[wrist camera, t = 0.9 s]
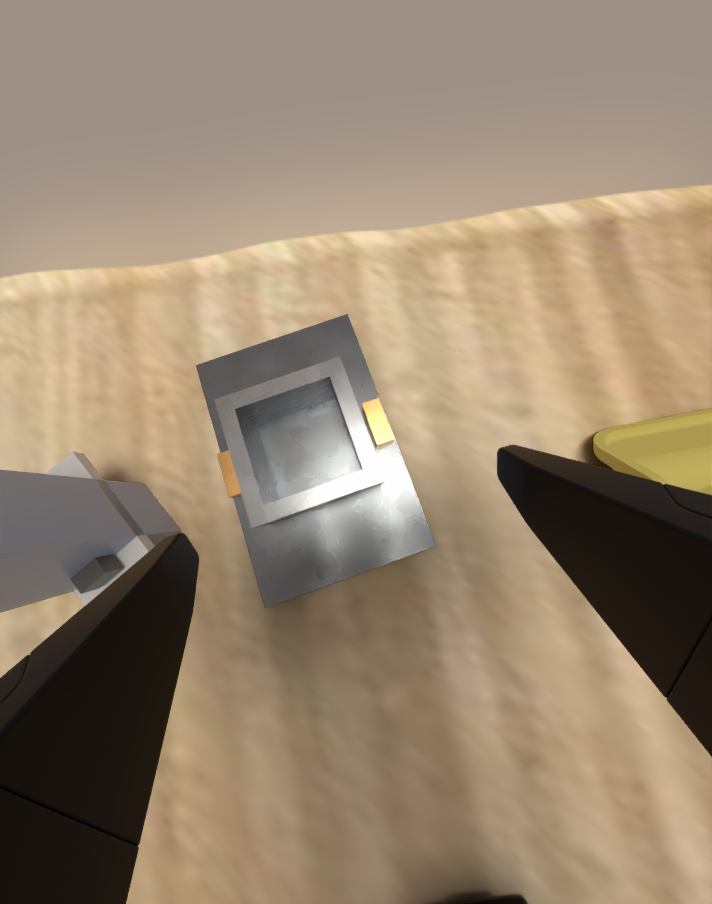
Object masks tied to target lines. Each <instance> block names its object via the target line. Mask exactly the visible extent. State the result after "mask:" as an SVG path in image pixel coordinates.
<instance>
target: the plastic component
mask: <svg viewBox="0 0 712 904" xmlns="http://www.w3.org/2000/svg"><path fill="white" fill-rule="evenodd" d="M593 449H594V453H595V455H596V456H597V458H598V459H599V460H601V461H602V462H603V463H605V464H607V465H608V466H610V467H611V468H612V469H613V470H615V471H618V472H622V473H626V474H630V475H634V476H638V477H642V478H646V479H650V480H654V481H658V482H661V483H662V484H670V485H673V486H677V487H681V488H685V489H689V490H693V491H697V492H701V493H705V494H710V495H712V409H707V410H701V411H696V412H691V413H685V414H680V415H675V416H670V417H664V418H659V419H654V420H649V421H643V422H638V423H633V424H627V425H622V426H617V427H612V428H607V429H604V430H602V431H599V432H598V433H597V434H596V435H595V436H594V438H593Z"/></svg>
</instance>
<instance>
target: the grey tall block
mask: <svg viewBox="0 0 712 904" xmlns="http://www.w3.org/2000/svg"><path fill="white" fill-rule="evenodd" d="M179 531H180V528H179V527H178V526H177V525H176V523H175V522H174V521H173V520H172V518H171V517H170V516H169V515H168V513H167V512H166V511H165V509H164V508H163V507H162V506H161V504H160V503H159V502H158V501H157V499H156V498H155V497H154V496H153V494H152V493H151V492H150V490H149V489H148V488H147V487H146V485H145V484H141V483H131V482H121V481H110V480H104V479H103V478H102V477H101V475H100V474H99V473H98V472H97V470H96V469H95V468H94V466H93V465H92V464H91V462H90V461H89V460H88V458H87V457H86V456H85V455H84V454H83V453H77V452H71V453H70V454H69V455H68V456H66V457H65V458H64V459H63V460H62V461H60V462H59V463H58V464H57V465H55V466H54V467H53V468H52V469H50V470H49V471H48V472H47V473H46V474H39V473H28V472H18V471H8V470H0V613H1V612H4V611H8V610H11V609H14V608H18V607H21V606H25V605H28V604H31V603H35V602H38V601H42V600H45V599H48V598H52V597H55V596H59V595H62V594H65V593H69V592H72V591H73V592H74V593H75V594H76V596H77V597H78V599H79V600H80V602H81V603H82V604H83V606H86V605H87V604H88V603H89V602H90V601H91V600H93V599H94V598H95V597H96V596H97V595H98V594H100V593H101V592H102V591H103V590H104V589H105V588H107V587H108V586H109V585H110V584H111V583H113V582H114V581H115V580H116V579H117V578H118V577H120V576H121V575H122V574H123V573H124V572H125V571H127V570H128V569H129V568H130V567H131V566H132V565H134V564H135V563H136V562H137V561H138V560H139V559H141V558H142V557H143V556H144V555H145V554H147V553H148V552H149V551H150V550H151V549H152V548H154V547H155V546H156V545H157V544H158V543H159V542H161V541H162V540H163V539H164V538H165V537H167V536H170V535H174V534H177V533H178V532H179Z"/></svg>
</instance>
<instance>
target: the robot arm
mask: <svg viewBox="0 0 712 904" xmlns="http://www.w3.org/2000/svg"><path fill="white" fill-rule="evenodd" d="M497 475H498V478H499V480H500V482H501V484H502V485H503V487H504V488H505V490H506V492H507V493H508V495H509V496H510V498H511V500H512V501H513V503H514V504H515V506H516V508H517V509H518V511H519V512H520V514H521V516H522V517H523V519H524V520H525V522H526V523H527V525H528V526H529V527H530V528H531V530H532V531H533V532H534V534H535V535H536V536H537V537H538V539H539V540H540V541H541V542H542V544H543V545H544V546H545V547H546V549H547V550H548V551H549V552H550V554H551V555H552V556H553V557H554V559H555V560H556V561H557V562H558V564H559V565H560V566H561V568H562V569H563V570H564V571H565V573H566V574H567V575H568V576H569V578H570V579H571V580H572V581H573V583H574V584H575V585H576V586H577V588H578V589H579V590H580V591H581V593H582V594H583V595H584V596H585V598H586V599H587V600H588V601H589V603H590V604H591V605H592V606H593V608H594V609H595V610H596V611H597V613H598V614H599V615H600V617H601V618H602V619H603V620H604V622H605V623H606V624H607V625H608V627H609V628H610V629H611V630H612V632H613V633H614V634H615V635H616V637H617V638H618V639H619V640H620V642H621V643H622V644H623V645H624V647H625V648H626V649H627V650H628V652H629V653H630V654H631V655H632V657H633V658H634V659H635V660H636V662H637V663H638V664H639V666H640V667H641V668H642V669H643V671H644V672H645V673H646V674H647V676H648V677H649V678H650V679H651V681H652V682H653V683H654V684H655V686H656V687H657V688H658V689H659V691H660V692H661V693H662V694H663V696H664V697H666V698H667V701H668V702H669V704H670V705H671V706H672V707H673V709H674V710H675V711H676V712H677V714H678V715H679V716H680V717H681V719H682V720H683V721H684V722H685V724H686V725H687V726H688V728H689V729H690V730H691V731H692V733H693V734H694V735H695V736H696V738H697V739H698V740H699V741H700V743H701V744H702V745H703V746H704V748H705V749H706V750H707V751H708V753H709V754H710V755H711V756H712V495H710V494H705V493H701V492H697V491H693V490H689V489H685V488H681V487H677V486H673V485H670V484H662V483H661V482H658V481H654V480H650V479H646V478H642V477H638V476H634V475H630V474H626V473H622V472H618V471H615V470H611V469H607V468H603V467H599V466H595V465H591V464H587V463H583V462H579V461H576V460H572V459H568V458H564V457H560V456H556V455H552V454H548V453H544V452H540V451H537V450H533V449H529V448H525V447H521V446H517V445H509V446H505V447H502V448H499V450H498V452H497ZM198 566H199V556H198V553H197V551H196V550H195V548H194V547H193V545H192V544H191V542H190V541H189V539H188V538H187V536H186V535H185V534H184V533H177V534H174V535H170V536H167V537H165V538H164V539H163V540H162V541H161V542H159V543H158V544H157V545H156V546H155V547H154V548H152V549H151V550H150V551H149V552H148V553H147V554H145V555H144V556H143V557H142V558H141V559H139V560H138V561H137V562H136V563H135V564H134V565H132V566H131V567H130V568H129V569H128V570H127V571H125V572H124V573H123V574H122V575H121V576H120V577H118V578H117V579H116V580H115V581H114V582H113V583H111V584H110V585H109V586H108V587H107V588H105V589H104V590H103V591H102V592H101V593H100V594H98V595H97V596H96V597H95V598H94V599H93V600H91V601H90V602H89V603H88V604H87V605H86V606H84V607H83V608H82V609H81V610H80V611H79V612H77V613H76V614H75V615H74V616H73V617H71V618H70V619H69V620H68V621H67V622H66V623H64V624H63V625H62V626H61V627H60V628H59V629H57V630H56V631H55V632H54V633H53V634H52V635H50V636H49V637H48V638H47V639H46V640H45V641H43V642H42V643H41V644H40V645H39V646H37V647H36V648H35V649H34V650H33V651H32V652H31V653H30V655H27V656H26V657H24V658H23V659H22V660H21V661H20V662H19V663H17V664H16V665H15V666H14V667H13V668H12V669H10V670H9V671H8V672H7V673H6V674H4V675H3V676H2V677H1V678H0V904H126V901H127V897H128V892H129V888H130V884H131V880H132V875H133V871H134V867H135V862H136V858H137V854H138V849H139V847H138V845H139V843H140V839H141V835H142V831H143V826H144V822H145V818H146V813H147V809H148V805H149V800H150V796H151V792H152V787H153V783H154V779H155V775H156V770H157V766H158V762H159V757H160V753H161V749H162V744H163V740H164V736H165V731H166V727H167V723H168V718H169V714H170V710H171V705H172V701H173V697H174V692H175V688H176V684H177V679H178V675H179V671H180V666H181V662H182V658H183V653H184V649H185V645H186V640H187V636H188V632H189V627H190V623H191V618H192V613H193V607H194V599H195V591H196V583H197V574H198ZM466 904H528V903H527V902H526V901H525V900H524V899H522V898H513V899H504V900H494V901H485V902H475V903H466Z"/></svg>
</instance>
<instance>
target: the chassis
mask: <svg viewBox="0 0 712 904" xmlns="http://www.w3.org/2000/svg"><path fill="white" fill-rule="evenodd" d="M196 367H197V371H198V374H199V378H200V382H201V385H202V389H203V392H204V396H205V399H206V403H207V406H208V410H209V413H210V417H211V420H212V424H213V427H214V431H215V434H216V438H217V441H218V445H219V448H220V452H221V453H219V454H217V456H218V460H219V463H220V467H221V470H222V474H223V478H224V481H225V485H226V488H227V492H228V495H229V497H232V498H234V501H235V505H236V508H237V512H238V515H239V519H240V522H241V526H242V529H243V533H244V536H245V540H246V543H247V547H248V550H249V554H250V558H251V561H252V565H253V568H254V572H255V575H256V579H257V582H258V586H259V589H260V593H261V596H262V600H263V603H264V607H265V608H267V607H270V606H273V605H276V604H278V603H281V602H284V601H287V600H289V599H292V598H295V597H298V596H300V595H303V594H306V593H308V592H311V591H314V590H317V589H319V588H322V587H325V586H328V585H330V584H333V583H336V582H339V581H341V580H344V579H347V578H350V577H352V576H355V575H358V574H360V573H363V572H366V571H369V570H371V569H374V568H377V567H380V566H382V565H385V564H388V563H391V562H393V561H396V560H399V559H402V558H404V557H407V556H410V555H412V554H415V553H418V552H421V551H423V550H426V549H429V548H432V547H434V546H436V544H435V541H434V539H433V536H432V533H431V531H430V528H429V526H428V523H427V520H426V518H425V515H424V513H423V510H422V507H421V505H420V502H419V500H418V497H417V494H416V492H415V489H414V486H413V484H412V481H411V479H410V476H409V473H408V471H407V468H406V466H405V463H404V460H403V458H402V455H401V453H400V450H399V447H398V445H397V442H396V440H395V437H394V434H393V432H392V429H391V426H390V424H389V421H388V419H387V416H386V413H385V411H384V408H383V406H382V403H381V400H380V398H379V395H378V393H377V390H376V387H375V385H374V382H373V379H372V377H371V374H370V372H369V369H368V366H367V364H366V361H365V359H364V356H363V353H362V351H361V348H360V346H359V343H358V340H357V338H356V335H355V332H354V330H353V327H352V325H351V322H350V319H349V317H348V314H346V315H343V316H340V317H337V318H334V319H331V320H328V321H326V322H323V323H320V324H317V325H314V326H311V327H308V328H305V329H302V330H299V331H296V332H293V333H290V334H287V335H284V336H281V337H278V338H275V339H272V340H269V341H267V342H264V343H261V344H258V345H255V346H252V347H249V348H246V349H243V350H240V351H237V352H234V353H231V354H228V355H225V356H222V357H219V358H216V359H213V360H210V361H207V362H205V363H202V364H199V365H196Z"/></svg>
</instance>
